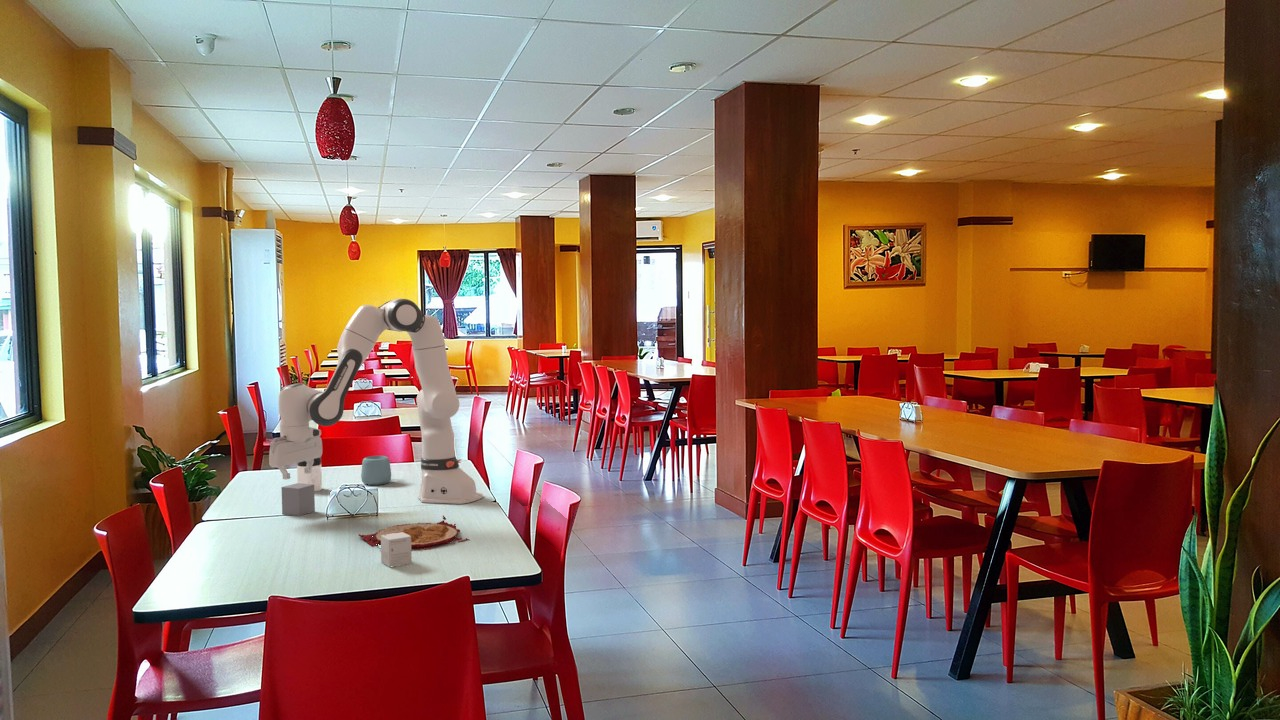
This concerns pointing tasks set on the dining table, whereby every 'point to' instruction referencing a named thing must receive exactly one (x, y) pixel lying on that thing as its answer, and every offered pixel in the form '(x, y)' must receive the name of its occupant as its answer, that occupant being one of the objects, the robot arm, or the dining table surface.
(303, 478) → the jar
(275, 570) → the dining table surface
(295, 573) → the dining table surface
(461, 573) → the dining table surface
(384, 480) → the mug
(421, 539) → the plate with food
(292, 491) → the gray block
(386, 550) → the product box
